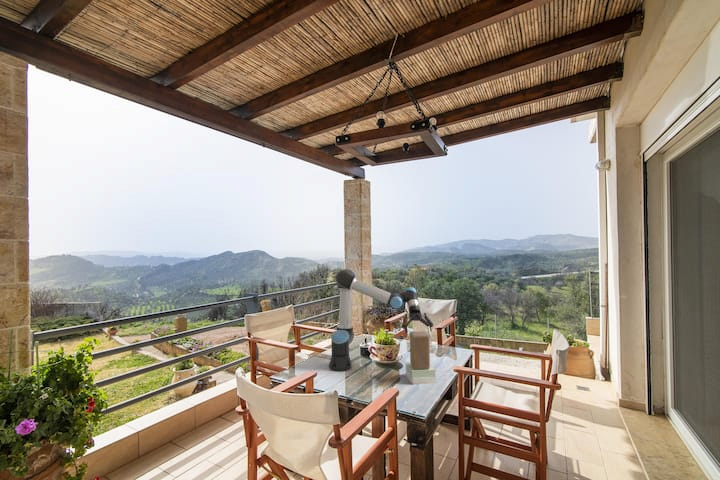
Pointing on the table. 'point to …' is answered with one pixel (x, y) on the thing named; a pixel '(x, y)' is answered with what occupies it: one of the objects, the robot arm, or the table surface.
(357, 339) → the table surface
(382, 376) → the table surface
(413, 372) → the tower top slab
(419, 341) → the wooden block
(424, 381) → the tower base slab
